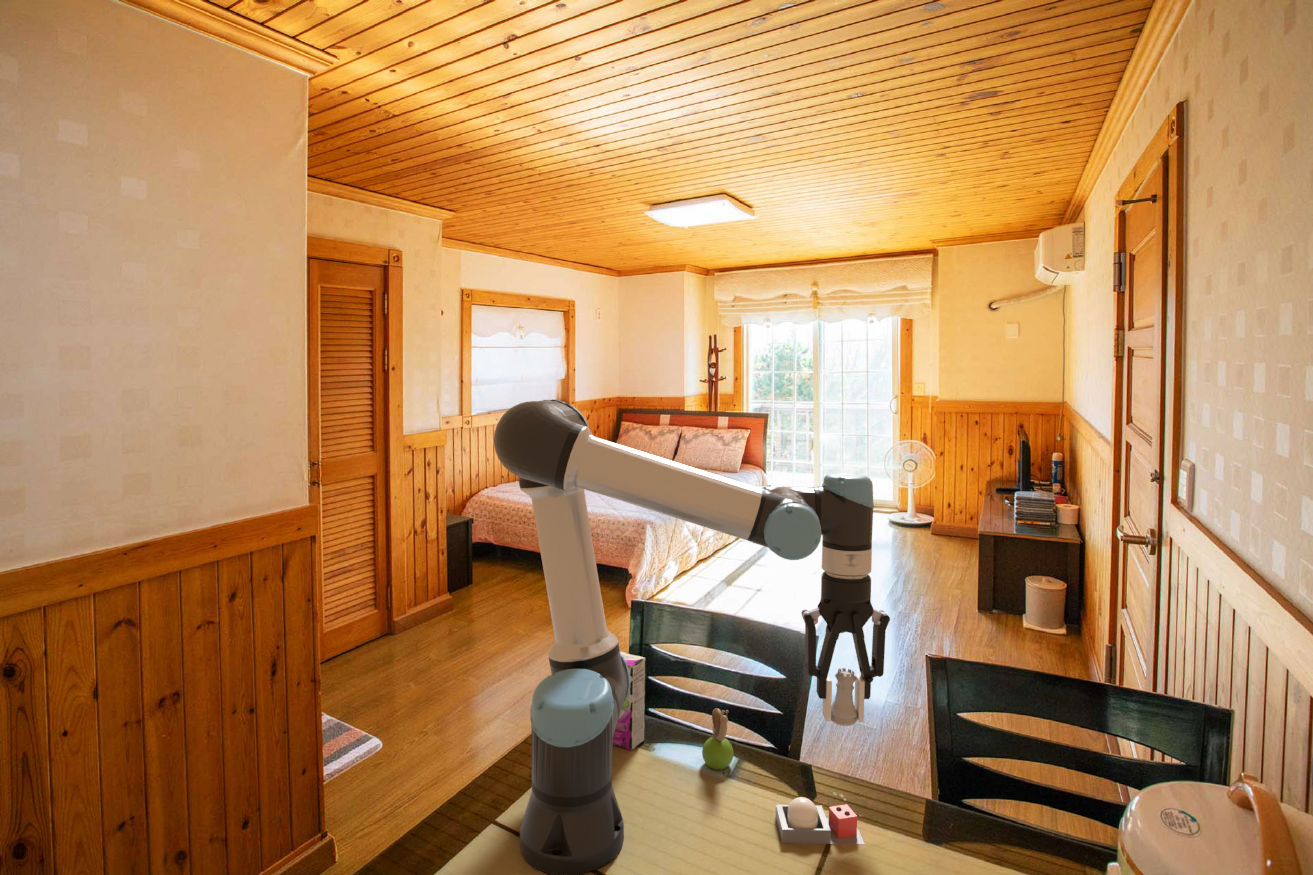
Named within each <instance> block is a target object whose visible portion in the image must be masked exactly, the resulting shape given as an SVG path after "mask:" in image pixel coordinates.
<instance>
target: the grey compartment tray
mask: <svg viewBox="0 0 1313 875" xmlns="http://www.w3.org/2000/svg"><path fill="white" fill-rule="evenodd" d="M814 805H815V804H814ZM788 807H789V804H775V820H776V825H777V829H778V833H779V837H780V840H781V844H810V845H811V844H814V845H852V846H853V845H854V846H856V845H858V846H859V845H861V846H864V845H866V842H865V841H864V839H863V837H862V835H861V832H860V830H859V827H858V815H857V814H856V813H855V812H854V810H853V809H852V808H851V807H850V806H849V805H848V804H847V803H846V804H840V805H833V806H828V817H826V814H825V811H824V808H823V805H815V807H816V809H817V813H818V824H817V829H816V828H788V826H787V818H788Z"/></svg>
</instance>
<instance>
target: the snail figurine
mask: <svg viewBox="0 0 1313 875" xmlns="http://www.w3.org/2000/svg"><path fill="white" fill-rule="evenodd" d="M725 713H726V714H729V710H728V709H726V710H724V709H722V710H721V709H720V708H717V707H716V708H714V709H713V710H712V714H711V720H712V733H713V736H710V737H709V738H708V739H707V740H706V741H705V742H704V743H703V747H702V748H701V749H702V751H701V752H702V753H701V754H702V759H703V761H704V763H705V764H706V765H707V767H709V768H710V769H712V770H715V771H721V770H722V771H723V770H724V769H726V768H728V767H729V766H730V765H731V764H732V761H733V758H734V749H733V746H732V743H730V742H731V741H730V740H728V739H727V732H728V731H727V730H728V721H729V718H728V715H726V714H725ZM724 714H725V715H724Z"/></svg>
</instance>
